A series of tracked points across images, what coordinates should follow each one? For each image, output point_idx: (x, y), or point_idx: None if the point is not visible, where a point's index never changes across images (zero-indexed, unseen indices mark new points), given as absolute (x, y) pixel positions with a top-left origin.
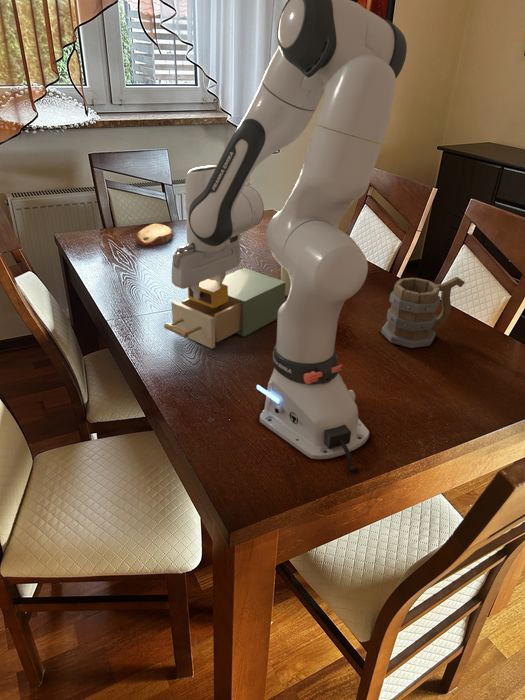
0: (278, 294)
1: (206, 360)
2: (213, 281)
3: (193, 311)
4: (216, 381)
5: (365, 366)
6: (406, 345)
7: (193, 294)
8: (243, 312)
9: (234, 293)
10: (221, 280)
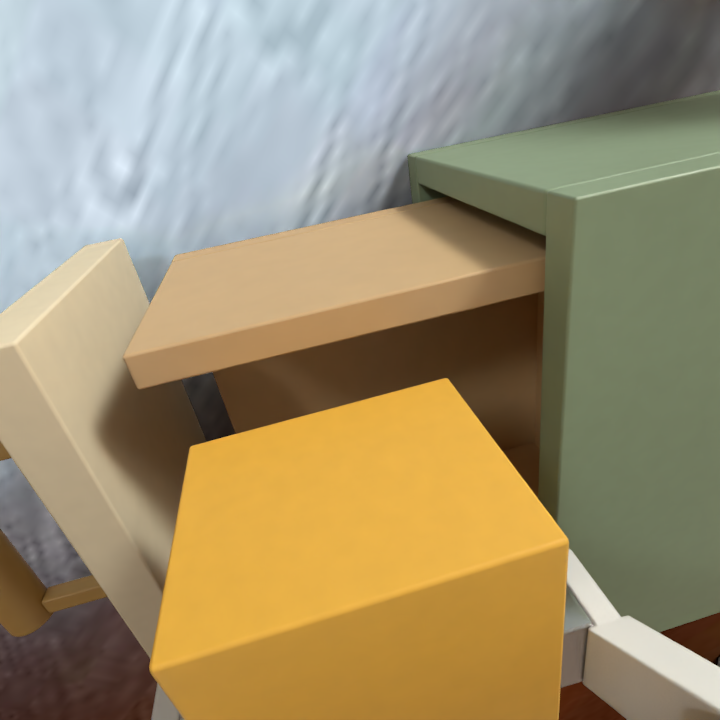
0: None
1: None
2: (537, 715)
3: (130, 622)
4: (121, 681)
5: (563, 714)
6: None
7: (153, 716)
8: None
9: (618, 551)
10: (627, 715)
